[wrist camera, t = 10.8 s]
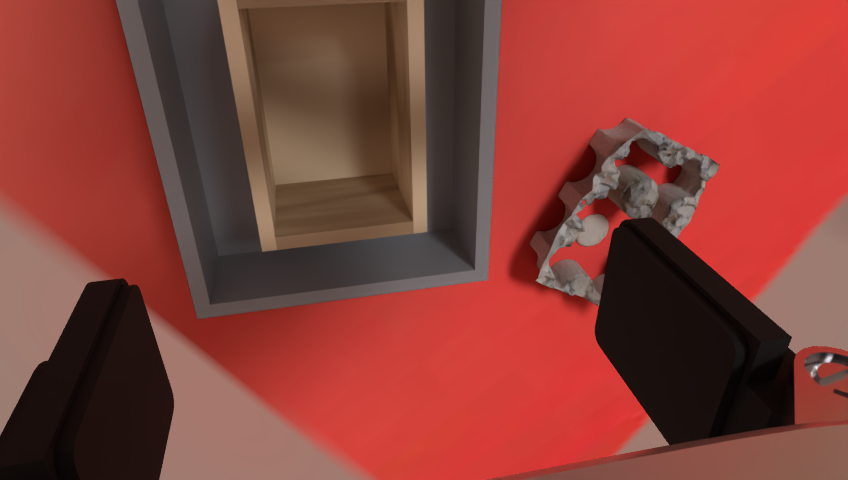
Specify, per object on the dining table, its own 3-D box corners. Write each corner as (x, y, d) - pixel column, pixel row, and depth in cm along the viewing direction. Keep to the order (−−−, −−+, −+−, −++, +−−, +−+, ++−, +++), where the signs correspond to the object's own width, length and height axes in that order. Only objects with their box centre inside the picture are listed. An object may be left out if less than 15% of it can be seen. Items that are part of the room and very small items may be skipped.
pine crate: (228, -26, 24) (215, -10, 19) (394, -32, 25) (423, -19, 20) (265, 192, 29) (262, 251, 24) (402, 178, 30) (427, 231, 25)
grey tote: (115, -139, 22) (76, -151, 18) (469, -138, 25) (509, -148, 20) (208, 263, 31) (197, 319, 27) (461, 233, 34) (487, 280, 29)
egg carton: (597, 290, 38) (628, 329, 35) (507, 254, 35) (531, 292, 32) (701, 152, 35) (748, 180, 31) (610, 98, 32) (651, 122, 28)
